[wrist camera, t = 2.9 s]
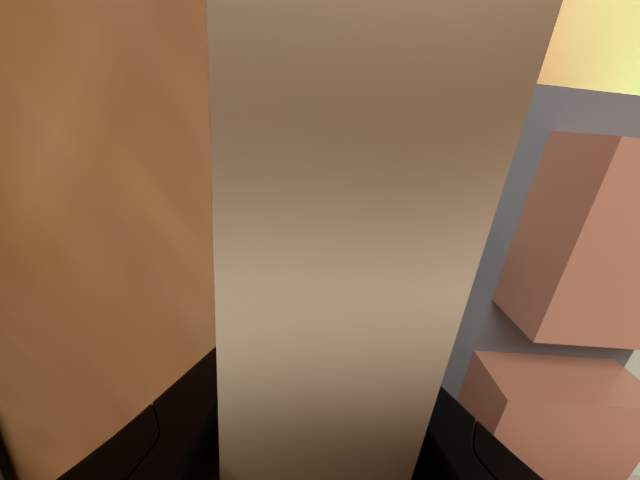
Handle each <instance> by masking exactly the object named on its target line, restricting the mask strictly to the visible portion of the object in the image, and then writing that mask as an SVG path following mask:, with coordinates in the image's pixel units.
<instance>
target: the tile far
mask: <svg viewBox="0 0 640 480" xmlns="http://www.w3.org/2000/svg"><path fill="white" fill-rule="evenodd" d="M457 401H458V402H459V403H460V404H461V405H462V406H463V407H464V408H465V409H466V410H467V411H468V412H469V413H470V414H471V415H472V416H474V417H475V419H476V421H479V422H480V423H481V424H482V425H483V426H484V427H485V428H486V429H487V430H488V431H489V432H491V433H492V434H493V435H494V436H495V437H496V438H497V439H498V440H499V441H500V442H501V443H502V444H504V445H505V446H506V447H507V448H508V449H509V450H510V451H511V452H512V453H513V454H515V455H516V456H517V457H518V458H519V459H520V460H522V461H523V462H524V463H525V464H526V465H527V466H529V467H530V468H531V469H532V470H533V471H534V472H536V473H537V474H538V475H539V476H540V477H541V478H543V479H544V480H627V479H628V478H629V476H630V475H631V474H632V472H633V471H634V469H635V468H636V466H637V465H638V464H639V462H640V380H639V379H638V378H637V377H635V376H634V375H633V374H632V373H630V372H629V371H628V370H627V369H626V368H624V367H623V366H622V365H621V364H619V363H618V362H617V361H616V360H615V359H599V358H584V357H568V356H553V355H537V354H522V353H506V352H491V351H475V350H474V352H473V355H472V358H471V360H470V363H469V366H468V369H467V372H466V375H465V378H464V380H463V383H462V386H461V389H460V392H459V395H458V398H457Z"/></svg>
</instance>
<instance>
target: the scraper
mask: <svg viewBox="0 0 640 480" xmlns="http://www.w3.org/2000/svg"><path fill="white" fill-rule="evenodd" d="M562 1H563V0H206V7H207V42H208V77H209V112H210V147H211V183H212V218H213V253H214V288H215V323H216V358H217V393H218V428H219V463H220V480H411V478H412V475H413V471H414V468H415V465H416V462H417V459H418V456H419V453H420V449H421V446H422V443H423V440H424V437H425V434H426V430H427V427H428V424H429V421H430V418H431V415H432V411H433V408H434V405H435V402H436V399H437V396H438V393H439V389H440V386H441V383H442V380H443V377H444V374H445V370H446V367H447V364H448V361H449V358H450V355H451V351H452V348H453V345H454V342H455V339H456V336H457V333H458V329H459V326H460V323H461V320H462V317H463V314H464V310H465V307H466V304H467V301H468V298H469V295H470V291H471V288H472V285H473V282H474V279H475V276H476V273H477V269H478V266H479V263H480V260H481V257H482V254H483V250H484V247H485V244H486V241H487V238H488V235H489V231H490V228H491V225H492V222H493V219H494V216H495V213H496V209H497V206H498V203H499V200H500V197H501V194H502V190H503V187H504V184H505V181H506V178H507V175H508V171H509V168H510V165H511V162H512V159H513V156H514V153H515V149H516V146H517V143H518V140H519V137H520V134H521V130H522V127H523V124H524V121H525V118H526V115H527V111H528V108H529V105H530V102H531V99H532V96H533V93H534V89H535V86H536V83H537V80H538V77H539V74H540V70H541V67H542V64H543V61H544V58H545V55H546V51H547V48H548V45H549V42H550V39H551V36H552V32H553V29H554V26H555V23H556V20H557V17H558V14H559V10H560V7H561V4H562Z"/></svg>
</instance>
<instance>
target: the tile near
mask: <svg viewBox="0 0 640 480" xmlns="http://www.w3.org/2000/svg"><path fill="white" fill-rule="evenodd" d="M492 300H493V301H494V302H495V303H496V304H497V305H498V306H499V307H500V309H501V310H502V311H503V312H504V313H505V314H506V315H507V316H508V317H509V318H510V319H511V320H512V321H513V322H514V323H515V324H516V325H517V326H518V327H519V328H520V329H521V330H522V331H523V332H524V334H525V335H526V336H527V337H528V338H529V339H530V340H531V341H532V342H533V343H546V344H561V345H576V346H591V347H606V348H621V349H636V350H640V138H633V137H624V136H612V135H599V134H586V133H573V132H560V131H550V134H549V137H548V140H547V143H546V145H545V148H544V151H543V154H542V157H541V160H540V163H539V165H538V168H537V171H536V174H535V177H534V180H533V183H532V186H531V188H530V191H529V194H528V197H527V200H526V203H525V206H524V208H523V211H522V214H521V217H520V220H519V223H518V226H517V229H516V231H515V234H514V237H513V240H512V243H511V246H510V249H509V251H508V254H507V257H506V260H505V263H504V266H503V269H502V272H501V274H500V277H499V280H498V283H497V286H496V289H495V292H494V294H493V297H492Z"/></svg>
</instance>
